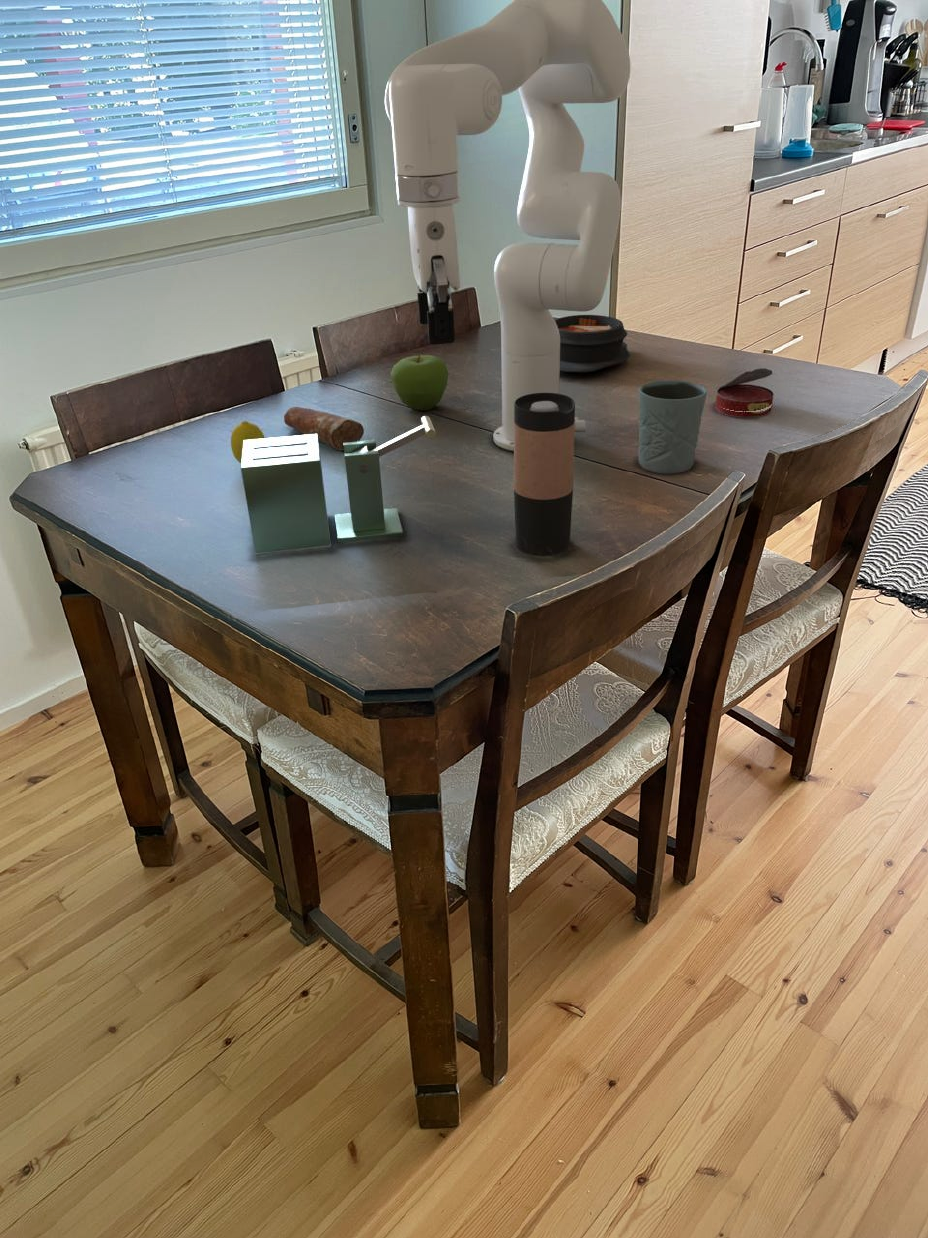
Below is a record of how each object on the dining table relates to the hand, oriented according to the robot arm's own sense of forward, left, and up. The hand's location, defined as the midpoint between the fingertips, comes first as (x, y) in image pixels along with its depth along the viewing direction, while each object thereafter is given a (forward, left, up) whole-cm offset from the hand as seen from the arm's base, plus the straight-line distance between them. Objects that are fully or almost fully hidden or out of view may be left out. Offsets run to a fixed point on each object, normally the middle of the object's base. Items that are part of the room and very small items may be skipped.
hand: (436, 332), depth 120 cm
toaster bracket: (+10, +6, -26) cm, 28 cm away
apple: (+10, -47, -26) cm, 54 cm away
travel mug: (-14, +10, -26) cm, 31 cm away
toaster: (+20, +8, -26) cm, 34 cm away
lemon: (+34, -17, -26) cm, 46 cm away
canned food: (-49, -46, -26) cm, 72 cm away
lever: (+6, +5, -15) cm, 16 cm away
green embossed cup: (-33, -20, -26) cm, 47 cm away
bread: (+26, -30, -26) cm, 47 cm away
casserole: (-21, -75, -26) cm, 82 cm away
